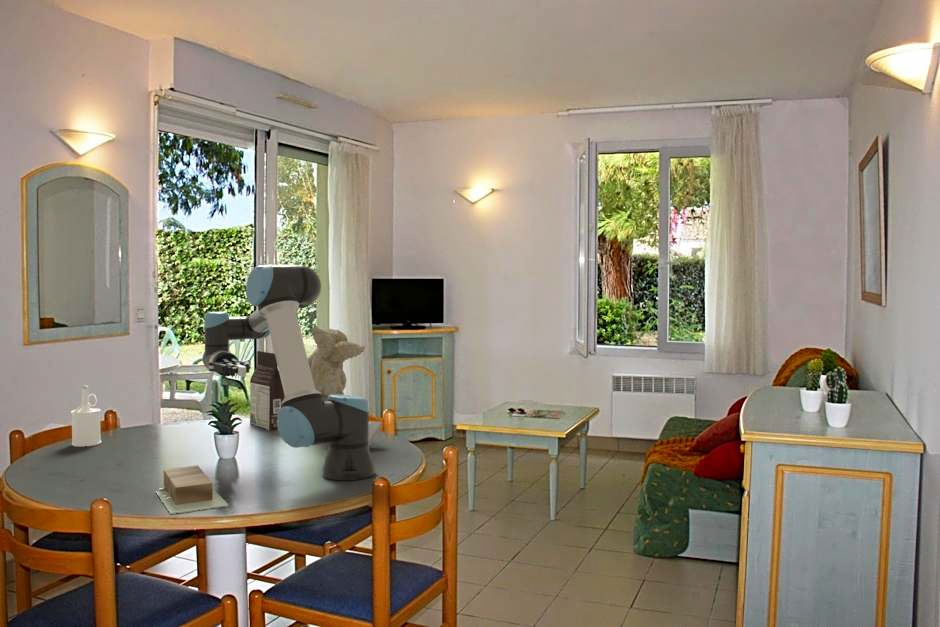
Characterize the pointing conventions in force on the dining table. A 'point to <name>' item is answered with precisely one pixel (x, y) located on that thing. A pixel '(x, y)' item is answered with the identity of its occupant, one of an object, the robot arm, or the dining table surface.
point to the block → (187, 485)
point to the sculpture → (331, 360)
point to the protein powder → (265, 392)
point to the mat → (191, 507)
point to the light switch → (373, 429)
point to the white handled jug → (86, 422)
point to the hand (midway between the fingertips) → (243, 371)
